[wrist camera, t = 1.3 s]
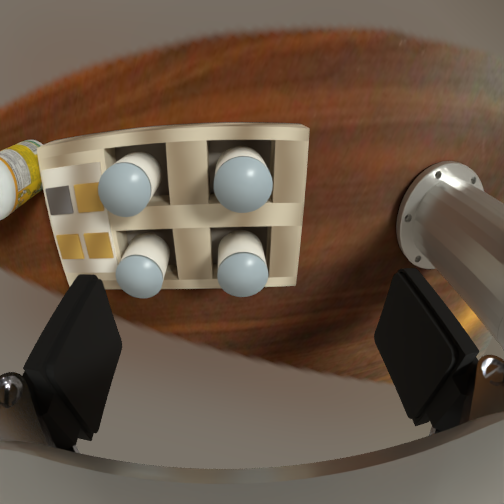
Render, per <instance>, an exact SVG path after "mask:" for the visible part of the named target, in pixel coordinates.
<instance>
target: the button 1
mask: <svg viewBox="0 0 504 504" xmlns="http://www.w3.org/2000/svg"><path fill="white" fill-rule="evenodd" d="M161 178H162V172H161V167H160V165H159V163H158V161H157V160H156V159H155V158H154V157H153V156H152V155H150V154H148V153H146V152H142V151H135V152H131V153H129V154H127V155H125V156H124V157H123V158H121V159H120V160H119V161H117V162H116V163H114V164H113V165H112V166H110V167H109V168H108V169H107V170H106V171H105V172H104V173H103V174H102V176H101V178H100V180H99V184H98V193H99V197H100V200H101V202H102V204H103V205H104V207H105V208H106V209H107V210H108V211H110V212H111V213H113V214H114V215H117V216H120V217H131V216H134V215H137V214H139V213H140V212H141V211H142V210H143V209H144V208H145V207H146V206H147V204H148V202H149V201H150V199H151V198H152V196H153V194H154V193H155V191H156V190H157V188H158V187H159V185H160V182H161Z"/></svg>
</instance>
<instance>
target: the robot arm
mask: <svg viewBox="0 0 504 504" xmlns="http://www.w3.org/2000/svg"><path fill="white" fill-rule="evenodd" d="M396 232H397V240H398V243H399V247H400V248H401V250H402V252H403V254H404V255H405V256H406V257H407V258H408V260H409V261H410V262H411V263H413V264H414V265H416V266H418V267H420V268H424V269H437V270H438V271H439V272H440V273H441V275H442V276H443V277H444V278H445V279H446V280H447V281H448V282H449V283H450V285H451V286H452V287H453V288H454V289H455V290H456V291H457V293H458V294H459V295H460V296H461V297H462V298H463V300H464V301H465V302H466V303H467V304H468V306H469V307H470V308H471V309H472V310H473V312H474V313H475V314H476V315H477V317H478V318H479V319H480V320H481V322H482V323H483V324H484V325H485V327H486V328H487V329H488V330H489V332H490V333H491V334H492V336H493V337H494V338H495V340H496V341H497V342H498V343H499V345H500V346H501V347H502V349H503V350H504V204H503V203H501V202H500V201H498V200H497V199H495V198H493V197H492V196H490V195H488V194H487V193H485V192H484V190H483V187H482V183H481V181H480V179H479V178H478V176H477V175H476V174H475V172H474V171H473V170H472V169H470V168H469V167H467V166H465V165H463V164H461V163H459V162H454V161H443V162H440V163H437V164H434V165H432V166H430V167H429V168H427V169H425V170H424V171H423V172H422V173H421V174H420V175H419V176H417V178H416V179H415V180H414V181H413V183H412V184H411V185H410V187H409V188H408V190H407V192H406V193H405V195H404V197H403V200H402V202H401V205H400V208H399V212H398V216H397V224H396ZM374 339H375V343H376V345H377V348H378V350H379V352H380V354H381V356H382V358H383V361H384V363H385V365H386V367H387V369H388V372H389V374H390V376H391V378H392V381H393V383H394V385H395V387H396V390H397V392H398V394H399V397H400V399H401V402H402V404H403V406H404V409H405V411H406V413H407V416H408V417H409V418H410V419H413V422H414V424H415V426H418V425H421V424H424V423H427V422H429V421H430V422H431V424H432V428H431V431H430V434H429V436H427V437H424V438H421V439H418V440H414V441H411V442H408V443H404V444H401V445H398V446H394V447H390V448H386V449H382V450H378V451H374V452H370V453H365V454H361V455H356V456H351V457H346V458H340V459H335V460H329V461H323V462H316V463H309V464H301V465H293V466H281V467H269V468H252V469H194V468H176V467H164V466H154V465H145V464H137V463H130V462H123V461H117V460H111V459H105V458H100V457H94V456H89V455H84V454H80V453H79V451H78V449H77V447H76V442H77V439H78V438H80V439H84V440H89V441H91V440H92V437H93V433H97V432H98V430H99V426H100V422H101V419H102V415H103V411H104V407H105V404H106V400H107V396H108V393H109V389H110V386H111V382H112V379H113V376H114V373H115V369H116V366H117V363H118V360H119V356H120V353H121V350H122V341H121V338H120V335H119V332H118V329H117V326H116V323H115V320H114V317H113V314H112V311H111V308H110V305H109V301H108V298H107V295H106V291H105V288H104V284H103V282H102V280H101V279H98V277H97V276H96V275H94V274H80V275H78V276H77V277H76V279H75V280H74V282H73V283H72V285H71V286H70V288H69V289H68V291H67V292H66V294H65V295H64V297H63V299H62V300H61V302H60V304H59V305H58V307H57V308H56V310H55V312H54V313H53V315H52V317H51V318H50V320H49V322H48V323H47V325H46V327H45V328H44V330H43V332H42V334H41V335H40V337H39V339H38V341H37V343H36V344H35V346H34V348H33V350H32V352H31V354H30V356H29V357H28V360H27V361H26V363H25V365H24V367H23V369H24V370H25V372H24V373H23V376H22V375H20V374H18V373H15V372H8V373H4V374H2V375H0V504H504V360H503V359H502V358H500V357H498V356H495V355H485V356H482V357H481V358H480V359H479V361H478V359H477V358H476V356H477V354H478V353H479V350H478V348H477V347H476V345H475V344H474V343H473V341H472V340H471V338H470V337H469V335H468V334H467V333H466V331H465V330H464V328H463V327H462V326H461V324H460V323H459V322H458V320H457V319H456V318H455V316H454V315H453V314H452V312H451V311H450V310H449V308H448V307H447V306H446V304H445V303H444V302H443V300H442V299H441V298H440V297H439V295H438V294H437V293H436V292H435V290H434V289H433V288H432V287H431V285H430V284H429V283H428V282H427V280H426V279H425V278H424V277H423V276H422V274H421V273H420V272H419V271H418V270H417V269H416V268H406V269H400V270H399V271H398V272H397V273H396V274H394V276H393V279H392V282H391V285H390V289H389V292H388V295H387V298H386V301H385V304H384V307H383V311H382V314H381V316H380V319H379V322H378V325H377V328H376V331H375V335H374Z"/></svg>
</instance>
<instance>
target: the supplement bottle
mask: <svg viewBox="0 0 504 504" xmlns="http://www.w3.org/2000/svg"><path fill="white" fill-rule="evenodd" d="M42 145H43V144H41V143H40V142H38V141H35V140H26V141H23V142H20V143H18V144H16V145H13V146H11V147H9V148H6V149H4V150H2V151H0V220H2V219H4V218H6V217H7V216H8V215H10V214H11V213H12V212H13V211H15V210H16V209H17V208H18V207H20V206H21V205H22V204H24V203H25V202H26V201H28V200H29V199H30V198H32V197H33V196H34V195H36V194H37V193H39V192H40V191H41V190H43V185H42V180H41V174H40V168H39V162H38V155H37V148H38V147H40V146H42Z"/></svg>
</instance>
